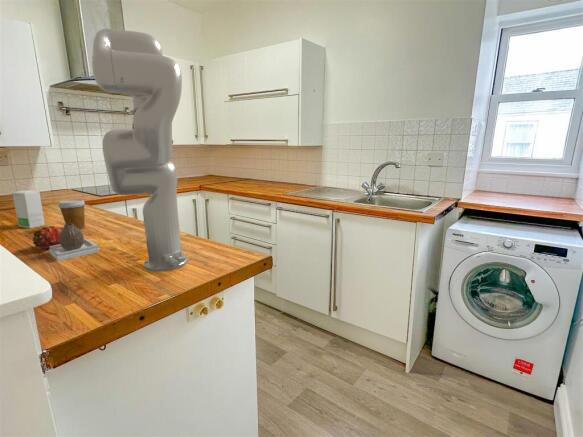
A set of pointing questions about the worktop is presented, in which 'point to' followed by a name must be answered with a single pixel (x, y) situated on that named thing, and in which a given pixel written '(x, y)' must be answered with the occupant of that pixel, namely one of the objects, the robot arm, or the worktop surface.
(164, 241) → the robot arm
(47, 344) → the worktop surface
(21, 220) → the skincare box
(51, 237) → the dragon fruit
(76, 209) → the disposable coffee cup
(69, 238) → the vase
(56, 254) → the baseplate
